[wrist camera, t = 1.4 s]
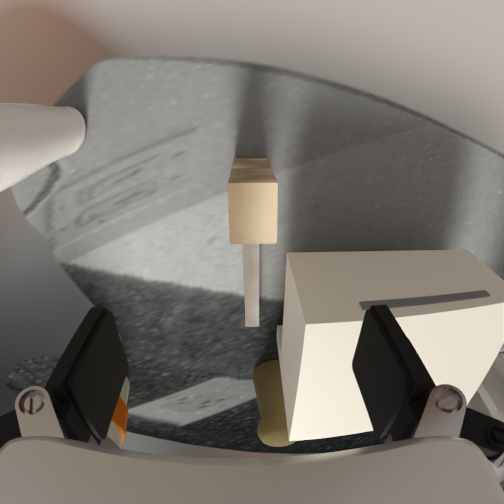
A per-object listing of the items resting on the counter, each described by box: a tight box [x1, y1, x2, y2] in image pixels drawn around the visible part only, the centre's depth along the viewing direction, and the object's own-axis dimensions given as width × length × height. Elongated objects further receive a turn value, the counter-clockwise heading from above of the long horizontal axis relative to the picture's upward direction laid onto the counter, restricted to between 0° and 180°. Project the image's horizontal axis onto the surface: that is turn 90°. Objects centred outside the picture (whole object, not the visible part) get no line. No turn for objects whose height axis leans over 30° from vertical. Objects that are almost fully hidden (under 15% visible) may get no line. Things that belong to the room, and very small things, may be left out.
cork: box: [253, 360, 295, 447], centre depth 36 cm, size 6×6×11 cm
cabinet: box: [276, 250, 504, 441], centre depth 28 cm, size 20×14×15 cm
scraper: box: [228, 158, 278, 327], centre depth 27 cm, size 3×18×11 cm, turn 0°
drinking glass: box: [0, 103, 86, 192], centre depth 19 cm, size 7×7×15 cm
